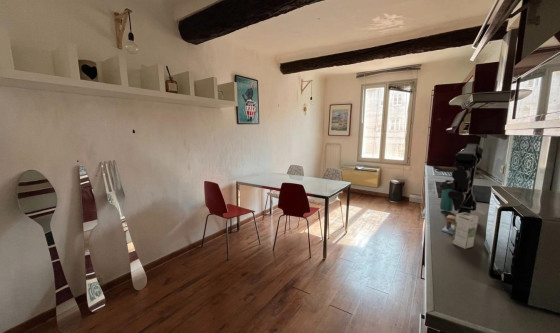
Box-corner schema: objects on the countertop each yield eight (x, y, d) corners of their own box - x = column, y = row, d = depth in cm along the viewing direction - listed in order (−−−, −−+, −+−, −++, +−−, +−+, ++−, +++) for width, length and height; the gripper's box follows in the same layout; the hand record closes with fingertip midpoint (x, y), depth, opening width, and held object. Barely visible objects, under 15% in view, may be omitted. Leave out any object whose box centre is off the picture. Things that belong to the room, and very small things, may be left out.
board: (448, 225, 124) (448, 223, 124) (469, 230, 117) (469, 229, 117) (441, 230, 117) (441, 229, 117) (463, 237, 110) (463, 235, 110)
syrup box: (459, 241, 107) (463, 211, 104) (474, 247, 102) (478, 216, 99) (451, 243, 105) (455, 213, 102) (465, 249, 100) (470, 217, 97)
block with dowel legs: (466, 230, 116) (468, 219, 115) (464, 233, 113) (465, 222, 112) (447, 225, 122) (449, 214, 121) (444, 228, 119) (446, 217, 118)
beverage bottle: (454, 213, 140) (458, 181, 137) (442, 213, 141) (446, 181, 138) (448, 210, 146) (452, 179, 143) (437, 209, 148) (441, 178, 144)
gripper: (448, 173, 125) (445, 200, 127) (437, 177, 113) (433, 208, 115) (475, 176, 116) (470, 206, 119) (465, 182, 104) (461, 214, 107)
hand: (458, 208), depth 115 cm, fingers open, 9 cm apart
